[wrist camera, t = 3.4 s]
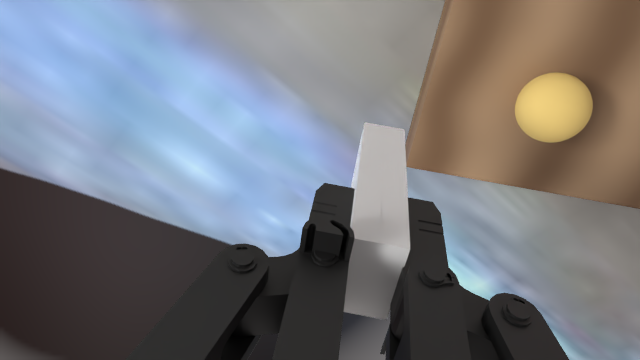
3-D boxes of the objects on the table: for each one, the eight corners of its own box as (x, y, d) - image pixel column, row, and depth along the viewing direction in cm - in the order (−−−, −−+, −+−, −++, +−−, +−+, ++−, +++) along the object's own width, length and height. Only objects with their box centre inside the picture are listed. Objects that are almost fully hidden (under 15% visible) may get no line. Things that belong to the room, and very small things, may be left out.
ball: (522, 57, 23) (541, 82, 20) (590, 68, 23) (619, 95, 20) (498, 117, 25) (512, 148, 22) (561, 128, 25) (583, 160, 22)
